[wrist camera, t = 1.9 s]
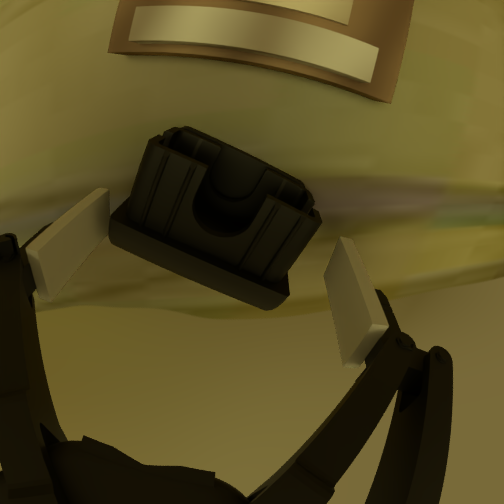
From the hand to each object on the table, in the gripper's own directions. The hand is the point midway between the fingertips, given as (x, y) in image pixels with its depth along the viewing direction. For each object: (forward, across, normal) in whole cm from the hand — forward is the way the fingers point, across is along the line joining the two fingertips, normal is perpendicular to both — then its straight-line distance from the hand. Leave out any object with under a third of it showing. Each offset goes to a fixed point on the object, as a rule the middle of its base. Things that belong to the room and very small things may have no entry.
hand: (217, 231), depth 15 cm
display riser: (+4, 0, +18) cm, 19 cm away
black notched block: (+5, 0, 0) cm, 5 cm away
